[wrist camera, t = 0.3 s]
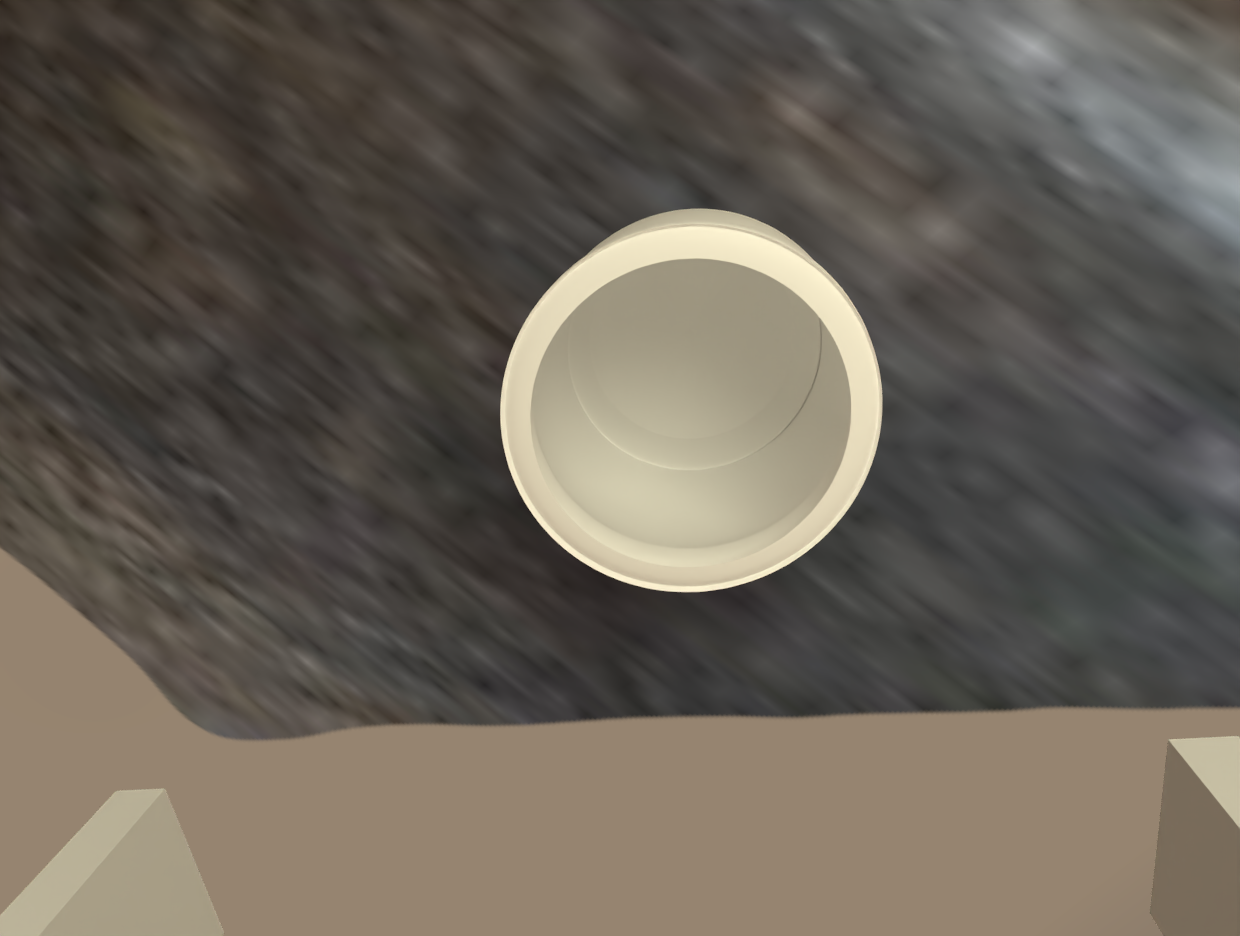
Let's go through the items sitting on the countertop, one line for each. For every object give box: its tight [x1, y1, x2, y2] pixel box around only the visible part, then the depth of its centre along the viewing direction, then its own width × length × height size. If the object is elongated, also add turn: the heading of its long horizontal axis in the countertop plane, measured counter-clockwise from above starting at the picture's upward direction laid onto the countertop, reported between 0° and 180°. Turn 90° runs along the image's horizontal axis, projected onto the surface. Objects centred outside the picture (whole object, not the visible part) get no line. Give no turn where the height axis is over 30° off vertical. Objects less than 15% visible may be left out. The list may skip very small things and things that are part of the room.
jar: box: [500, 209, 882, 592], centre depth 29 cm, size 11×10×15 cm
